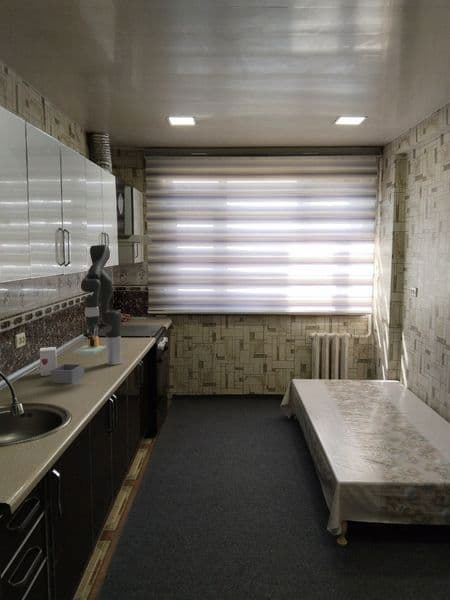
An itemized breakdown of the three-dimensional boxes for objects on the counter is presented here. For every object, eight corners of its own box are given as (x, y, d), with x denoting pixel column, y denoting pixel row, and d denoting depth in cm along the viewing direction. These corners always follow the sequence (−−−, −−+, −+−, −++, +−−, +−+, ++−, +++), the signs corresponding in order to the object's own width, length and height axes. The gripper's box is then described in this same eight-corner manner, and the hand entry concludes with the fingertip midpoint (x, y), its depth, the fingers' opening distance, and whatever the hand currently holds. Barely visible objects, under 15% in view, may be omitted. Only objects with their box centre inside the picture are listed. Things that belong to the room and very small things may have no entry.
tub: (64, 375, 297) (64, 363, 296) (84, 376, 295) (83, 364, 294) (51, 382, 283) (50, 370, 282) (71, 383, 280) (71, 370, 280)
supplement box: (40, 376, 298) (38, 350, 296) (41, 372, 306) (40, 347, 305) (57, 374, 300) (55, 349, 299) (57, 371, 309) (56, 346, 307)
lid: (85, 349, 293) (85, 336, 292) (105, 349, 291) (105, 336, 290) (73, 354, 278) (72, 340, 278) (94, 355, 276) (93, 341, 275)
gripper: (91, 313, 295) (92, 343, 297) (80, 316, 281) (81, 348, 283) (103, 313, 294) (105, 343, 295) (93, 316, 280) (94, 348, 282)
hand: (93, 345), depth 289 cm, fingers closed on lid, 3 cm apart
